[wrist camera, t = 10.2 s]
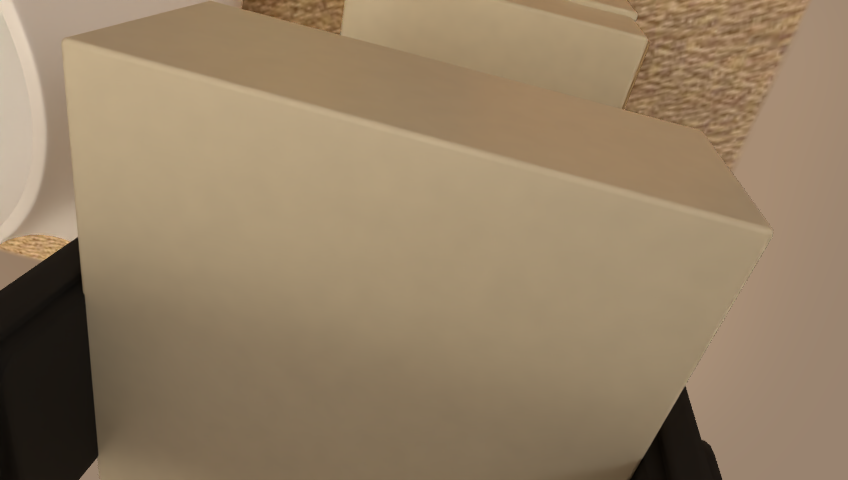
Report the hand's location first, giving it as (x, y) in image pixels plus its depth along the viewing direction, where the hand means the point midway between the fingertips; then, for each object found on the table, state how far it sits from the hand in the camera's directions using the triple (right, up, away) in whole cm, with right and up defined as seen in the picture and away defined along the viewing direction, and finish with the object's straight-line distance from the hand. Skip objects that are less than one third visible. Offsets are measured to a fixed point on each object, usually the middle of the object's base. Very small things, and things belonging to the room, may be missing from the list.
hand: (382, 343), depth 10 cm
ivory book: (0, 0, +1) cm, 1 cm away
